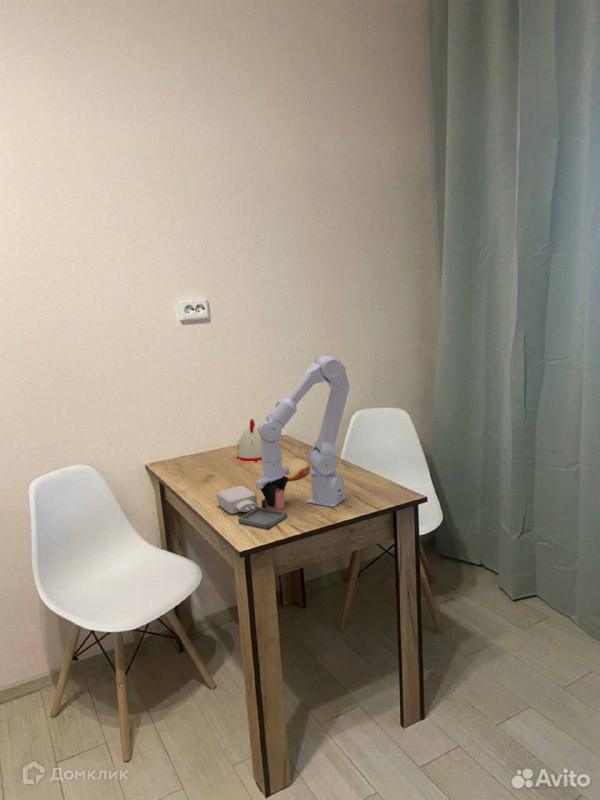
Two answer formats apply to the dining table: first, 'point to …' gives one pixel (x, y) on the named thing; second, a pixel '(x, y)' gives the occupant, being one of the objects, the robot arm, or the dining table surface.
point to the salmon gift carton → (277, 500)
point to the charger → (237, 499)
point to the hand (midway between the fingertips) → (275, 503)
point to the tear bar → (263, 503)
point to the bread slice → (295, 468)
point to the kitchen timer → (249, 444)
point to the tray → (262, 518)
